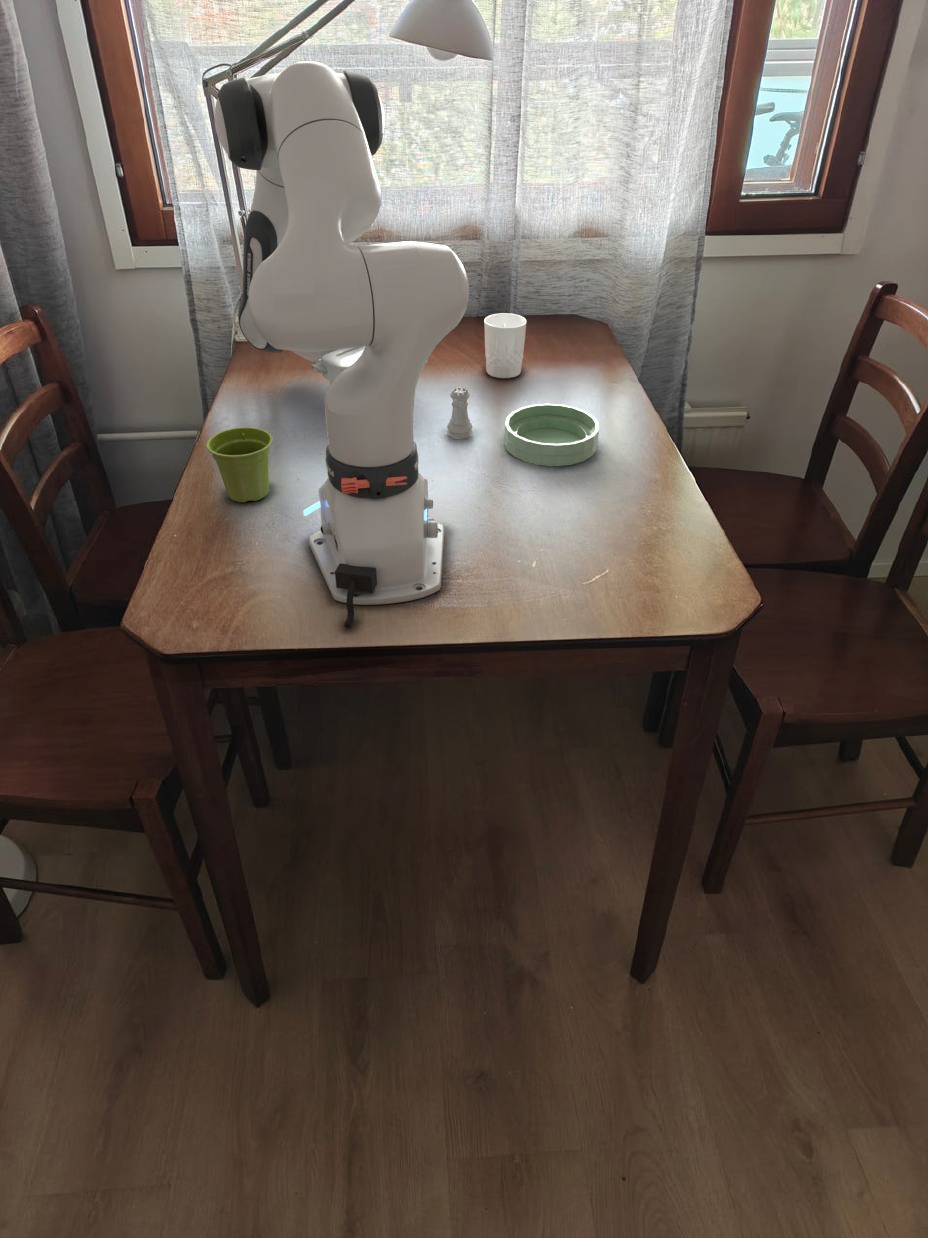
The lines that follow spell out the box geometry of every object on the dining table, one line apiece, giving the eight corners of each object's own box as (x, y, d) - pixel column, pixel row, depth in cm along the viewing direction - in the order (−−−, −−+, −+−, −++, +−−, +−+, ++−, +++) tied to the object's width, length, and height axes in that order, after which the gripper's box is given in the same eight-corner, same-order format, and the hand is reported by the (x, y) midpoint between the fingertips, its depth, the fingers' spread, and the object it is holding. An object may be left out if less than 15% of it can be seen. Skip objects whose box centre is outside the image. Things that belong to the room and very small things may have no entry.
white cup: (520, 381, 166) (523, 329, 159) (479, 377, 167) (480, 325, 161) (526, 365, 172) (529, 314, 165) (487, 362, 173) (488, 311, 167)
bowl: (608, 465, 140) (611, 441, 137) (515, 472, 138) (516, 448, 135) (581, 423, 152) (583, 400, 149) (496, 430, 149) (496, 407, 147)
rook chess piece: (474, 429, 150) (474, 384, 145) (471, 441, 146) (472, 395, 141) (448, 427, 150) (447, 383, 145) (445, 439, 146) (444, 394, 142)
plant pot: (203, 499, 131) (192, 446, 125) (243, 472, 137) (235, 421, 132) (253, 515, 127) (244, 461, 122) (292, 486, 134) (285, 434, 128)
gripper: (304, 347, 147) (362, 368, 141) (387, 315, 160) (445, 333, 153) (307, 383, 151) (364, 405, 144) (389, 349, 164) (445, 368, 157)
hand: (406, 368), depth 149 cm, fingers open, 8 cm apart
